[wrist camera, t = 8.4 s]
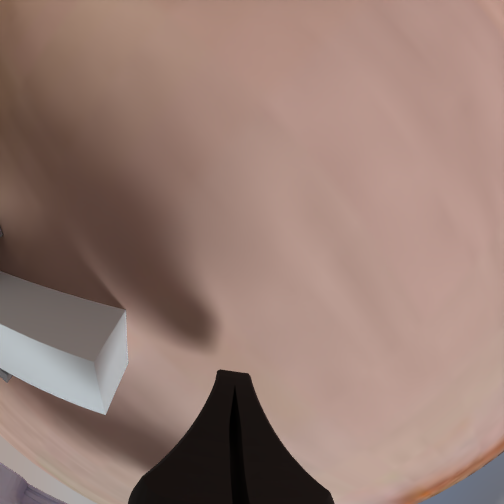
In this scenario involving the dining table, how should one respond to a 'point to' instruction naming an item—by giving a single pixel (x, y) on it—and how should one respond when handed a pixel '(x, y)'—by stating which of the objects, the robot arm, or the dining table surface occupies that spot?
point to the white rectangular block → (62, 342)
